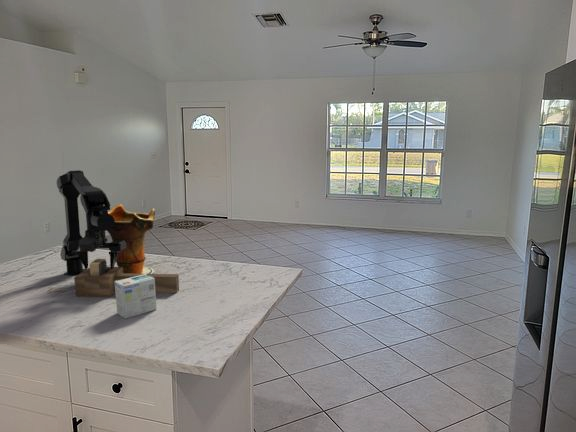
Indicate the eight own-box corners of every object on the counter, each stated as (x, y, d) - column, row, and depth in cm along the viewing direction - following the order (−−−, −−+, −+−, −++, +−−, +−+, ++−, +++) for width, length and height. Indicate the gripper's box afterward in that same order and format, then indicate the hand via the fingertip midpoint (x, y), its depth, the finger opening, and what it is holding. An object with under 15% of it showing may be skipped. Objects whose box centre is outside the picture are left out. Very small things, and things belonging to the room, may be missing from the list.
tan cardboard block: (99, 279, 155) (97, 258, 154) (108, 279, 155) (106, 258, 154) (91, 285, 150) (89, 263, 148) (101, 285, 149) (99, 263, 148)
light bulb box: (147, 304, 141) (145, 272, 139) (157, 309, 136) (155, 277, 134) (115, 313, 133) (113, 280, 131) (125, 319, 129) (122, 285, 127)
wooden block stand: (92, 284, 159) (91, 266, 158) (182, 285, 158) (181, 267, 157) (76, 296, 147) (74, 277, 146) (173, 297, 146) (172, 278, 145)
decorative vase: (147, 282, 160) (139, 209, 156) (92, 282, 164) (82, 211, 159) (171, 266, 181) (164, 201, 176) (121, 266, 184) (113, 203, 180)
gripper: (56, 230, 141) (61, 275, 144) (112, 231, 140) (115, 276, 143) (74, 224, 152) (78, 266, 155) (125, 224, 151) (128, 266, 154)
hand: (99, 268), depth 151 cm, fingers open, 9 cm apart
